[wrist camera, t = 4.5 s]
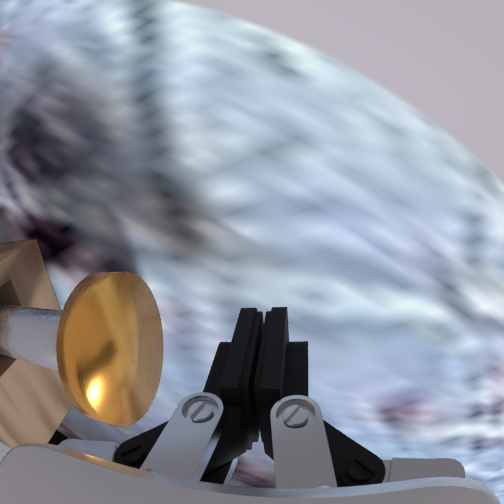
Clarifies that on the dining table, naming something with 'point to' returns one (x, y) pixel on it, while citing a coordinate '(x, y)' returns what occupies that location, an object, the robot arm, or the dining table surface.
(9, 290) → the block
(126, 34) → the dining table surface
